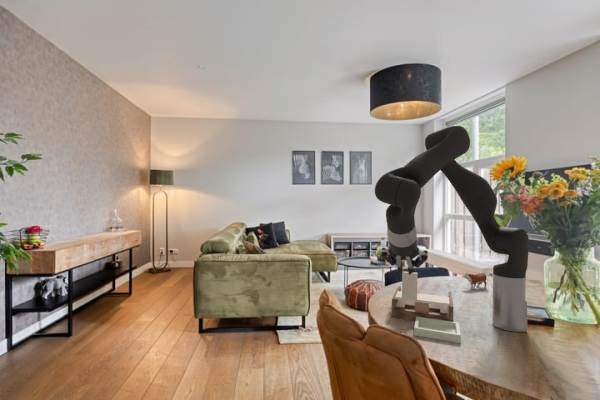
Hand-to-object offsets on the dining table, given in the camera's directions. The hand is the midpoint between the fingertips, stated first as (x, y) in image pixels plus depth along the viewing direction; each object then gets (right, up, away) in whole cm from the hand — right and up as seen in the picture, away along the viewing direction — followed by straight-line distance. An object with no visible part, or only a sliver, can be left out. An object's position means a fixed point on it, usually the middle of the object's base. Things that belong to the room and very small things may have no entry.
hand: (405, 271), depth 99 cm
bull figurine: (+53, -21, +57) cm, 81 cm away
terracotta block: (+11, -18, +16) cm, 27 cm away
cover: (+11, -14, +16) cm, 24 cm away
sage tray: (+11, -20, +3) cm, 23 cm away
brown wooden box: (+13, -20, +21) cm, 32 cm away
